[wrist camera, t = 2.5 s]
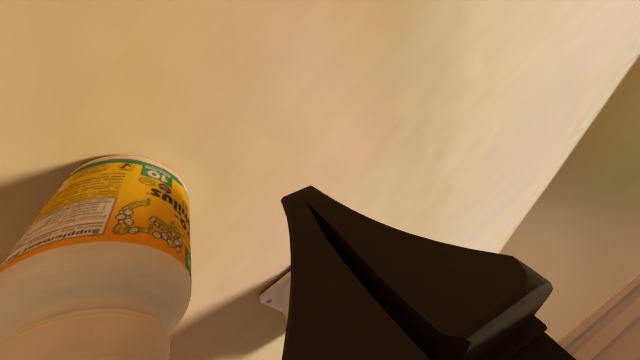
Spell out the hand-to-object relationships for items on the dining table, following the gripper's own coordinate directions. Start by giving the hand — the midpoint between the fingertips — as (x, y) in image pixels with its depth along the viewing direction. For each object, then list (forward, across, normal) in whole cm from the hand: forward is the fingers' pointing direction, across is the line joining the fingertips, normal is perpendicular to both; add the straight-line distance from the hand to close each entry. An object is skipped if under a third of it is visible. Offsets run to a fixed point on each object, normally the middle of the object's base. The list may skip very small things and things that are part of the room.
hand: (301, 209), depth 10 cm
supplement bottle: (+7, +8, 0) cm, 10 cm away
